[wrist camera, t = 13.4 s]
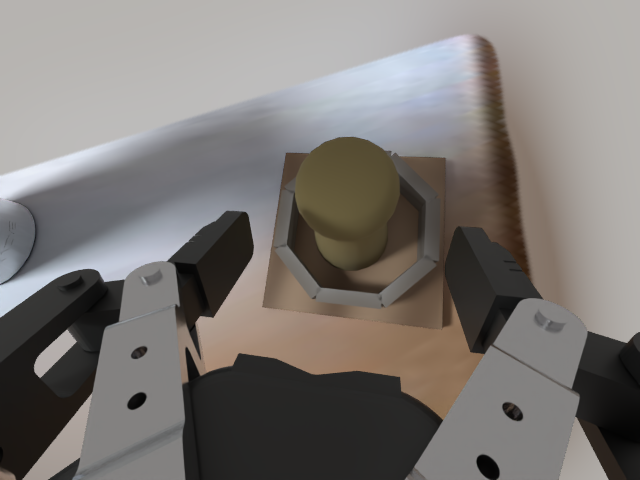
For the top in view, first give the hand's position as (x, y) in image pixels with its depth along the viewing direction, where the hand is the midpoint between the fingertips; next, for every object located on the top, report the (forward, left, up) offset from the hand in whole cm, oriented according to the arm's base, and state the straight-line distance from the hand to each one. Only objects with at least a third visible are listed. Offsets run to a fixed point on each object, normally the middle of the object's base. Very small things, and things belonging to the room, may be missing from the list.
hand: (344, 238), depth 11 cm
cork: (0, +3, -12) cm, 12 cm away
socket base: (0, +3, -13) cm, 13 cm away
